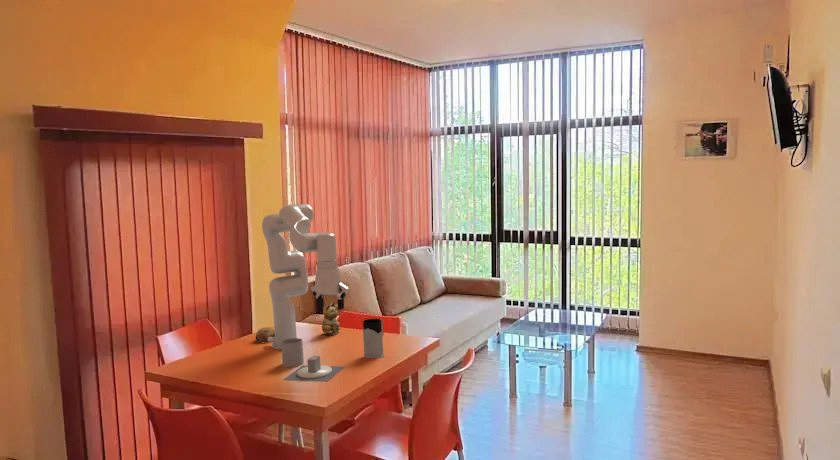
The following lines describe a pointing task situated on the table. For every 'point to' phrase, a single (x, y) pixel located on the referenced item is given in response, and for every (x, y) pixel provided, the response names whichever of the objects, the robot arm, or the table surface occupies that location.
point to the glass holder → (373, 338)
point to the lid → (314, 369)
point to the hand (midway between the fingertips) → (330, 308)
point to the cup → (292, 352)
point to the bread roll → (264, 334)
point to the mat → (324, 379)
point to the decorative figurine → (330, 320)
